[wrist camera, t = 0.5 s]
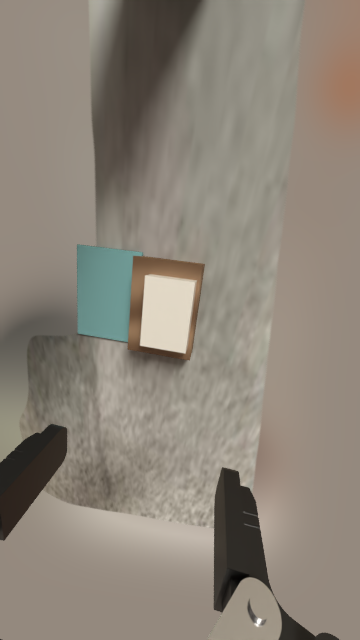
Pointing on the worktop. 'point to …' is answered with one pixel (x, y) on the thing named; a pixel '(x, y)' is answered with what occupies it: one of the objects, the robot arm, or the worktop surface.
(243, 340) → the worktop surface
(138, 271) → the board
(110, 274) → the mat
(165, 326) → the tile
